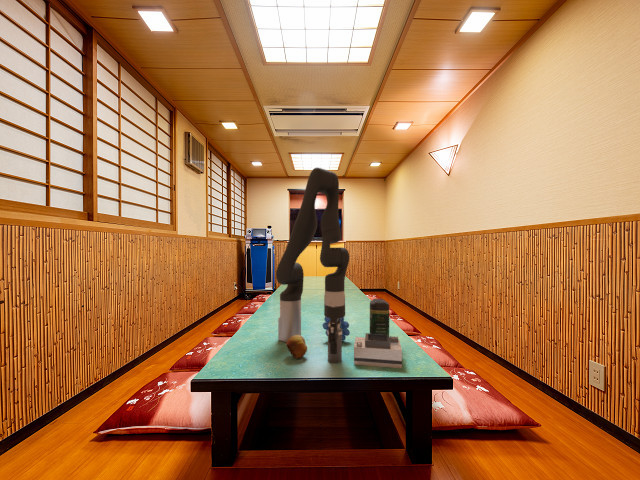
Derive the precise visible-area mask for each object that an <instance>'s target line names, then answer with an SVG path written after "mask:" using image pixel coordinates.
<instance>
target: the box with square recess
mask: <svg viewBox="0 0 640 480" xmlns="http://www.w3.org/2000/svg"><path fill="white" fill-rule="evenodd" d="M354 339H355V340H354V343H353V344H354V345H353V365H355V366H366V367H368V366H370V367H380V368H381V367H382V368H392V369H393V368H395V369H403V349H402V345H401V342H400V339H399V336H392V335H391V336H390V334H389V335H388V334H371V333H370V332H369V333H367V332H365V337H364V336H363V337H362V336H355V338H354Z"/></svg>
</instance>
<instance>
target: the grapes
mask: <svg viewBox="0 0 640 480" xmlns="http://www.w3.org/2000/svg"><path fill="white" fill-rule="evenodd" d="M323 318H324V322H323V323H322V328H323V330H325V335H326V337H328V334H327V330H328V328H329V327H328V325H329V322H330V320H331V319H330V318H327V317H325V316H324V317H323ZM340 319H341V320H340V321H341V325H340V328H341V329H342V342H344V341H346V338H347V337H348V336H350V335H351V334H350V333H351V332H350V329H349V328H350V323H349V322H348V321H347V320H345V317H343V318H340Z"/></svg>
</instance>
